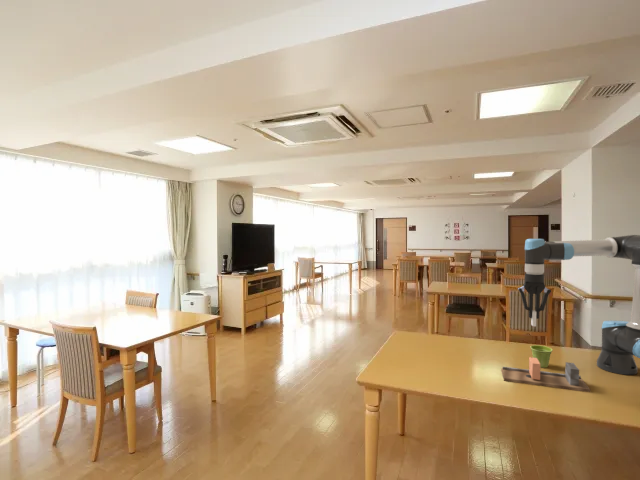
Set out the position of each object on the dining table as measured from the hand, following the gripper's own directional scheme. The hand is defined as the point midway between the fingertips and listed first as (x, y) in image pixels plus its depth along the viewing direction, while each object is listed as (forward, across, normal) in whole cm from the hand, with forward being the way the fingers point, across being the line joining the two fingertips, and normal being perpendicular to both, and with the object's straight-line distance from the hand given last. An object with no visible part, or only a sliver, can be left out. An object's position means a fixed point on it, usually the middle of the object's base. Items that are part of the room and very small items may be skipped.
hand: (533, 325), depth 162 cm
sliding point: (+23, 0, +1) cm, 23 cm away
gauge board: (+24, -4, +1) cm, 25 cm away
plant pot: (+25, -7, -19) cm, 32 cm away
